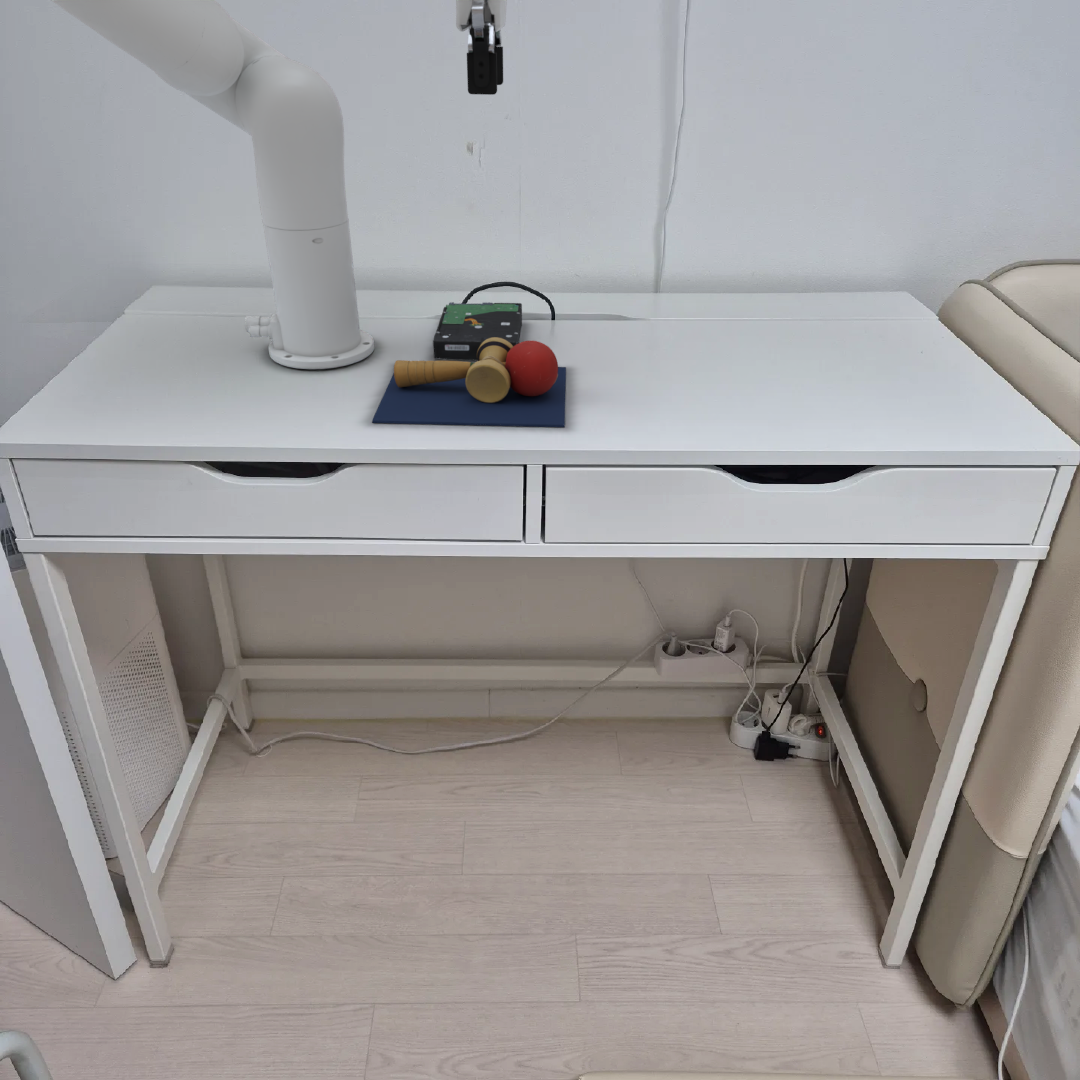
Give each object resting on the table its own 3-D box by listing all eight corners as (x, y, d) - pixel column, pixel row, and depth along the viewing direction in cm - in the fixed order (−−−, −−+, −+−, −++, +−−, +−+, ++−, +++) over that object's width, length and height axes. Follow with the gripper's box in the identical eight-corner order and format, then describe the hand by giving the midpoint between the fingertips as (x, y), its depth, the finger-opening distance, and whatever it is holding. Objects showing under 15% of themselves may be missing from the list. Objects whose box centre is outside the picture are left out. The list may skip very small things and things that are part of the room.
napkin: (372, 423, 93) (372, 420, 93) (398, 365, 107) (397, 363, 106) (564, 427, 93) (564, 424, 92) (566, 369, 106) (566, 366, 106)
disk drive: (519, 364, 108) (522, 321, 120) (519, 341, 106) (522, 300, 119) (433, 363, 108) (445, 320, 120) (432, 340, 106) (444, 300, 119)
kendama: (392, 414, 97) (555, 402, 94) (382, 355, 95) (549, 341, 92) (411, 398, 104) (564, 386, 101) (402, 343, 102) (558, 329, 99)
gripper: (456, -89, 101) (461, 80, 110) (436, -99, 87) (444, 97, 96) (522, -88, 101) (522, 81, 110) (513, -98, 86) (514, 98, 96)
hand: (486, 89), depth 103 cm, fingers open, 9 cm apart
